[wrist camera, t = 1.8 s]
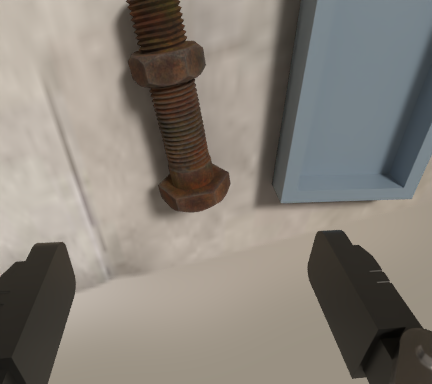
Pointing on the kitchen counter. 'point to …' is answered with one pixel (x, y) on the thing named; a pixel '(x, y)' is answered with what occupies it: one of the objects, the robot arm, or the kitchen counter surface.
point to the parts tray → (357, 102)
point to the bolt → (176, 104)
